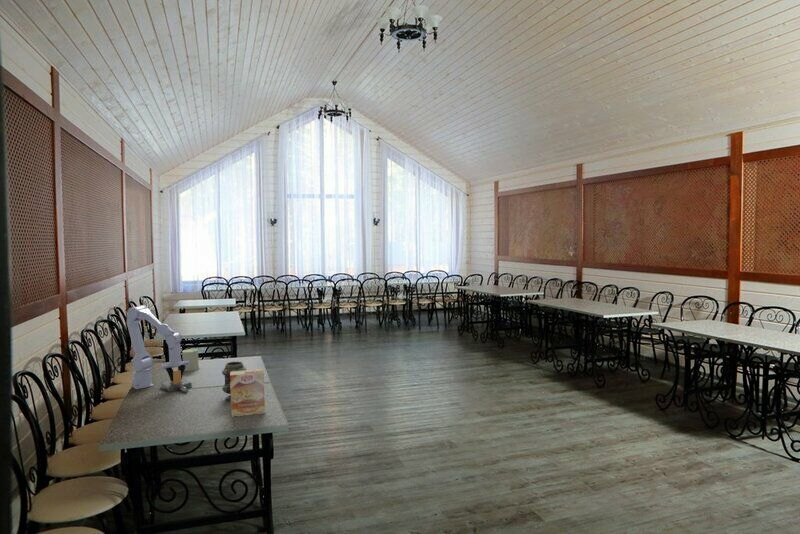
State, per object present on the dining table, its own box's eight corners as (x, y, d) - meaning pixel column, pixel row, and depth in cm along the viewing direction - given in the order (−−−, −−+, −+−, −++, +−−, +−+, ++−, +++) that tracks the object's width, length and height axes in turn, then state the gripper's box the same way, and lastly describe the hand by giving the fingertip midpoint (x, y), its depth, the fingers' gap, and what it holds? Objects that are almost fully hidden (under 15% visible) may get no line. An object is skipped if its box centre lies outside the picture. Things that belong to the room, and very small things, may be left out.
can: (195, 371, 332) (194, 351, 331) (180, 371, 332) (179, 351, 331) (201, 367, 341) (200, 347, 340) (186, 367, 342) (185, 348, 341)
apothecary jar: (252, 395, 282) (250, 360, 281) (239, 402, 270) (237, 366, 269) (231, 393, 285) (230, 359, 284) (217, 401, 274) (216, 365, 272)
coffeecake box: (231, 417, 250) (229, 375, 249) (231, 412, 257) (229, 371, 256) (265, 413, 254) (263, 372, 253) (264, 408, 261) (263, 368, 260)
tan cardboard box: (173, 386, 296) (173, 371, 295) (171, 385, 299) (170, 370, 299) (181, 385, 299) (180, 370, 298) (178, 383, 302) (178, 369, 301)
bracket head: (174, 395, 285) (173, 390, 284) (161, 387, 300) (161, 382, 299) (197, 390, 292) (197, 385, 292) (183, 382, 307) (183, 378, 307)
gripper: (163, 359, 290) (164, 384, 291) (191, 354, 299) (192, 379, 300) (159, 356, 295) (160, 381, 296) (186, 352, 305) (187, 376, 306)
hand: (176, 380), depth 299 cm, fingers closed on tan cardboard box, 4 cm apart
